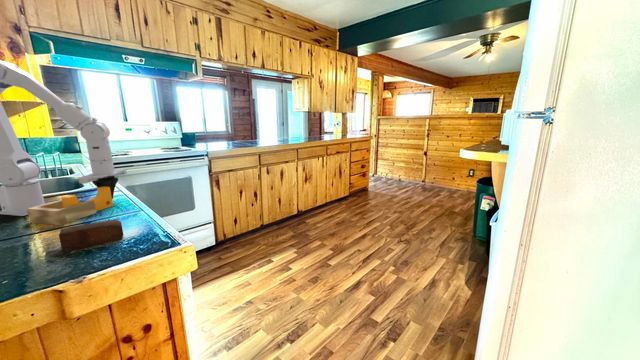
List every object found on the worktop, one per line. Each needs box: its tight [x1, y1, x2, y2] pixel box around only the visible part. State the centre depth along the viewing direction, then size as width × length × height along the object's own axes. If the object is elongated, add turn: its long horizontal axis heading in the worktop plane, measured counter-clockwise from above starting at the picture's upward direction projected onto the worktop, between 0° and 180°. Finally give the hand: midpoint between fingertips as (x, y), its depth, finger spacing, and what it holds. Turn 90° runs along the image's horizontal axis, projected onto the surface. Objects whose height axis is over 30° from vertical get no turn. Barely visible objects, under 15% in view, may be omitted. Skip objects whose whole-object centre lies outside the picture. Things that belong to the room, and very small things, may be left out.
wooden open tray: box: [27, 199, 98, 226], centre depth 74 cm, size 10×10×4 cm
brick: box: [58, 219, 124, 253], centre depth 59 cm, size 11×4×5 cm, turn 129°
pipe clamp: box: [60, 186, 114, 212], centre depth 78 cm, size 12×4×6 cm, turn 170°
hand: (109, 199), depth 87 cm, fingers closed
